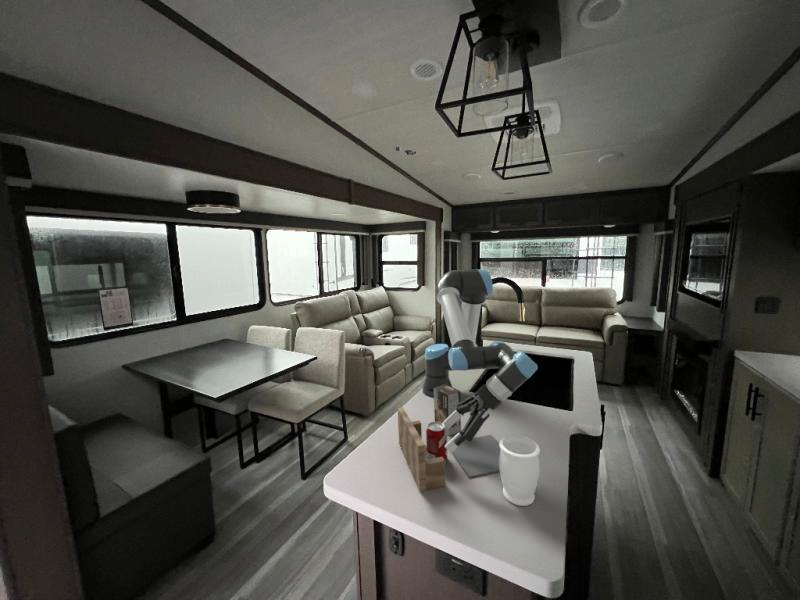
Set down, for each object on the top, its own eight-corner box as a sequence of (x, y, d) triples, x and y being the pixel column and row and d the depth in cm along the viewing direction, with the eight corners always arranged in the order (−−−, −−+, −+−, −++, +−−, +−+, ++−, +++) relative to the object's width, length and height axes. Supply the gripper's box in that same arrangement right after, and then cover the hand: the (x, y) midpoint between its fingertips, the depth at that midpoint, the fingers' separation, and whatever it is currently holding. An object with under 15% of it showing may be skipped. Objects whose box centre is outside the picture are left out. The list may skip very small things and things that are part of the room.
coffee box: (461, 431, 119) (461, 391, 117) (448, 436, 116) (448, 395, 114) (446, 421, 127) (445, 383, 125) (434, 425, 124) (433, 387, 122)
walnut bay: (399, 444, 112) (397, 408, 110) (420, 441, 114) (419, 404, 112) (419, 492, 89) (418, 446, 87) (445, 486, 90) (444, 441, 89)
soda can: (434, 469, 98) (433, 433, 97) (423, 457, 104) (422, 424, 102) (451, 462, 101) (451, 427, 100) (439, 451, 107) (439, 418, 106)
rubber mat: (445, 444, 111) (445, 443, 111) (490, 436, 115) (490, 434, 115) (469, 478, 93) (469, 476, 93) (521, 466, 98) (521, 464, 98)
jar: (535, 515, 79) (536, 461, 77) (494, 500, 84) (494, 449, 83) (541, 489, 88) (542, 440, 86) (504, 477, 93) (504, 430, 92)
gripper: (513, 420, 85) (458, 470, 88) (494, 384, 109) (452, 424, 112) (493, 402, 84) (439, 452, 88) (478, 370, 109) (437, 410, 112)
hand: (446, 436), depth 100 cm, fingers open, 13 cm apart
